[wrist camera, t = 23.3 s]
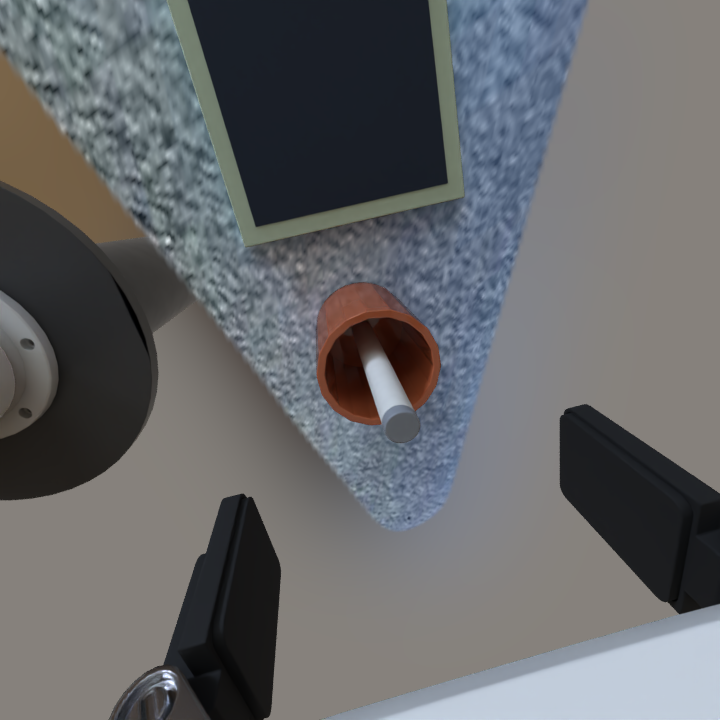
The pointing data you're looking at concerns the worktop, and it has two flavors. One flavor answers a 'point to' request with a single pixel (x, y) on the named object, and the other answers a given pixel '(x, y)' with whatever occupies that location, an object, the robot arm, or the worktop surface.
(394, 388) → the stylus
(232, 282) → the worktop surface
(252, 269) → the worktop surface
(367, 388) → the pen cup
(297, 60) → the tablet
